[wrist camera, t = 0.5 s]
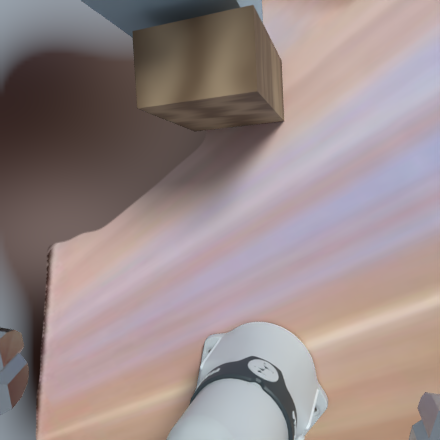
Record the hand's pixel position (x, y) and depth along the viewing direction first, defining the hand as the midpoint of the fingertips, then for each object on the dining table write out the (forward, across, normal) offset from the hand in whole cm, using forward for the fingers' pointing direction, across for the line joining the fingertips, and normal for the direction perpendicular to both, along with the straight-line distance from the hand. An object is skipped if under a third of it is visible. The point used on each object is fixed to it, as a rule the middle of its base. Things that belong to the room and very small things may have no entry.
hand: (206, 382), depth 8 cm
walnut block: (+50, -6, +2) cm, 50 cm away
